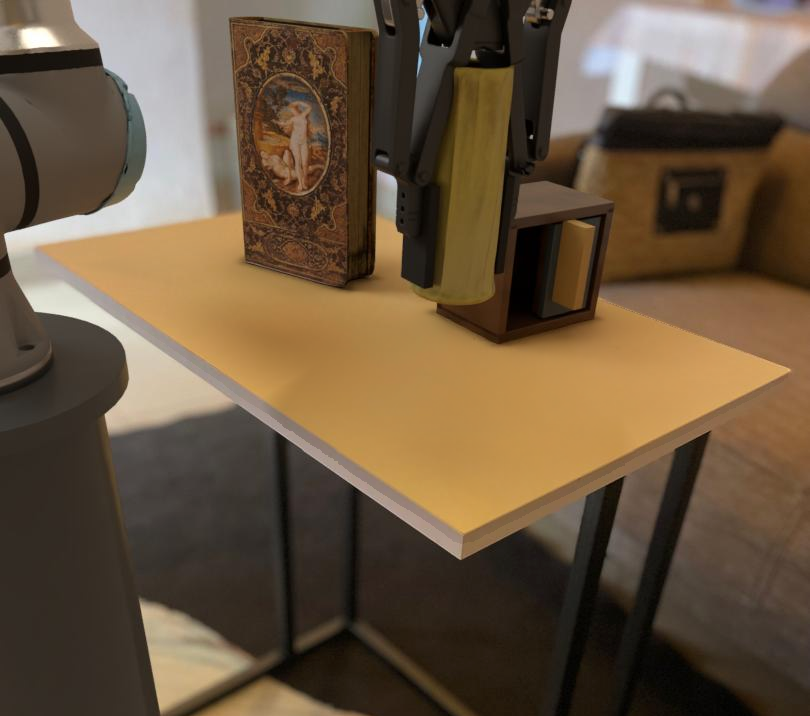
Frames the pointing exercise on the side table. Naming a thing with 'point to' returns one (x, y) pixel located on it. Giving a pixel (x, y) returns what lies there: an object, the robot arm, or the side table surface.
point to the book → (306, 146)
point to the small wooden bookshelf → (534, 265)
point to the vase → (470, 185)
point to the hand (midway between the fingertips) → (453, 274)
